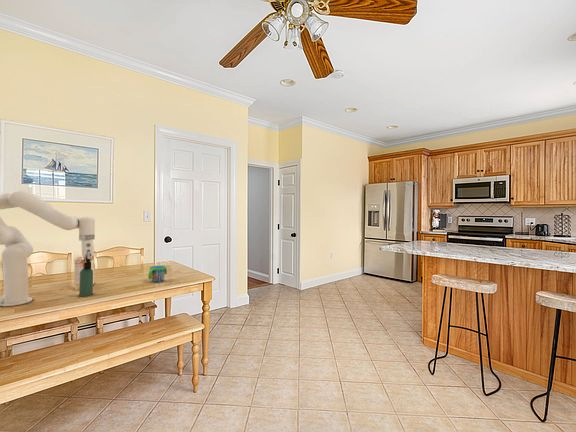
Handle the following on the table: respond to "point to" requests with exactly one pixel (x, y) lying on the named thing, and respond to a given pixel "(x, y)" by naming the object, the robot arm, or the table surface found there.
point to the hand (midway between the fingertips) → (87, 268)
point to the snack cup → (157, 273)
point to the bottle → (86, 282)
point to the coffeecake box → (79, 267)
